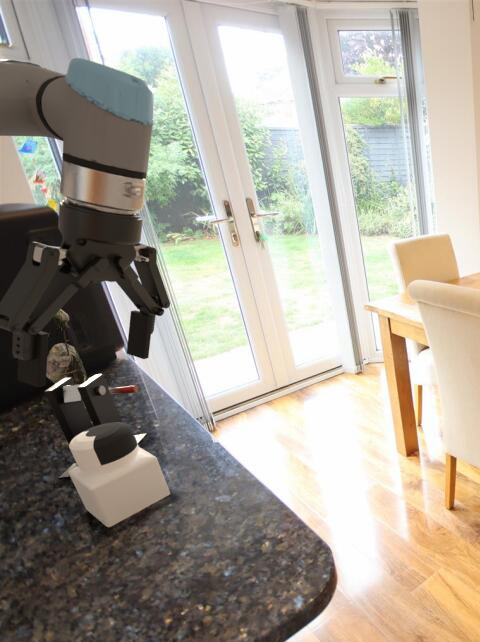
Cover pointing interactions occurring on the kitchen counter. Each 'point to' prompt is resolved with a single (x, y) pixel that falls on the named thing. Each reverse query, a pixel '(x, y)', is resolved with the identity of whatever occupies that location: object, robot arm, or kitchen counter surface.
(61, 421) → the bracket
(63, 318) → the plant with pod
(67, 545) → the kitchen counter surface
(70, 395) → the lever
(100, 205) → the robot arm
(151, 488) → the medicine bottle
